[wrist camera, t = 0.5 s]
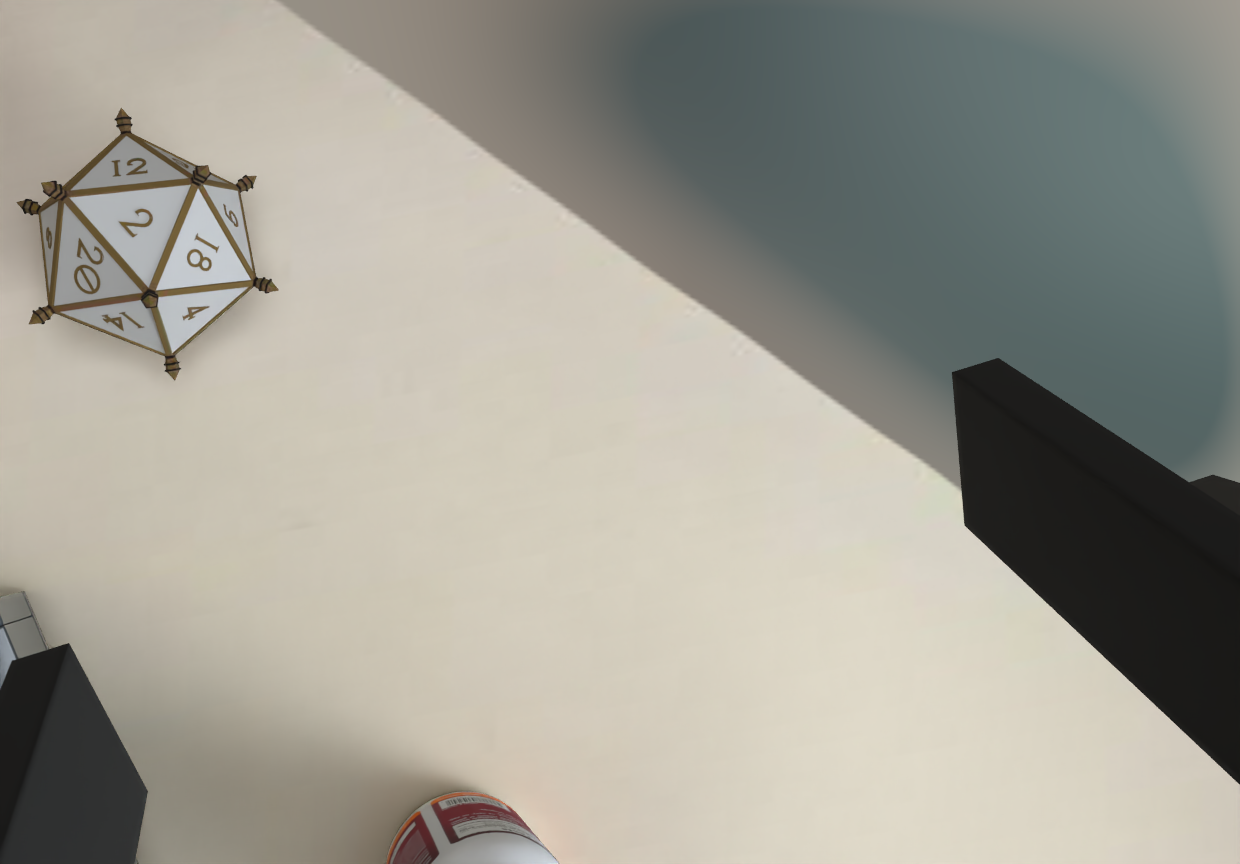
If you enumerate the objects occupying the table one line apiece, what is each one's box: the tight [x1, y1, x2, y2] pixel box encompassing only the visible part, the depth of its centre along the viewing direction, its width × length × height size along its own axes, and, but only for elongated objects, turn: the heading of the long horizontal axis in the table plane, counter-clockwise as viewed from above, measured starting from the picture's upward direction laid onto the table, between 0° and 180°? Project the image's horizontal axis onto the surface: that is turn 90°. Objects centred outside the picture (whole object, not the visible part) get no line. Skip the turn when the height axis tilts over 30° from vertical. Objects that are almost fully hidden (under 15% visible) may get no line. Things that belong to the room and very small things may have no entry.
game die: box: [17, 108, 278, 380], centre depth 42 cm, size 9×8×10 cm
